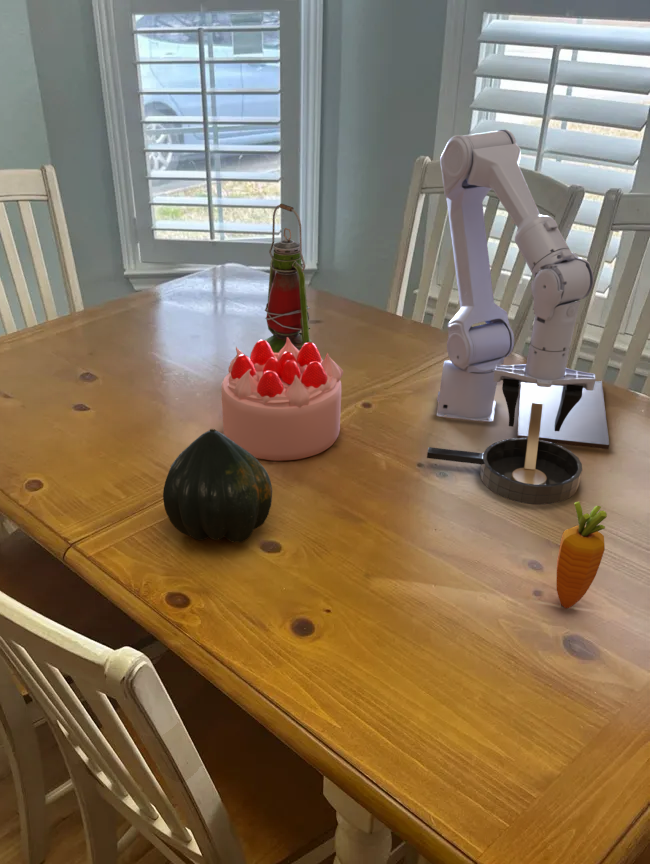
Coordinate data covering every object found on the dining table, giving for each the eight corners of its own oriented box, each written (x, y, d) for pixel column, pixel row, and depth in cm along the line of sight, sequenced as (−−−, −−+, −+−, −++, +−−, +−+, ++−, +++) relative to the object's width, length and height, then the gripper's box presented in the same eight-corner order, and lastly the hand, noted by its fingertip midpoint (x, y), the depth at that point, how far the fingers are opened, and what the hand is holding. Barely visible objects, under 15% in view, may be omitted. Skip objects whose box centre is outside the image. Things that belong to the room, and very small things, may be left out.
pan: (476, 499, 120) (479, 479, 118) (482, 452, 131) (485, 433, 129) (578, 512, 117) (583, 492, 115) (576, 463, 128) (580, 443, 126)
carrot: (538, 596, 102) (562, 495, 94) (576, 593, 103) (604, 492, 94) (553, 622, 98) (580, 520, 90) (593, 619, 99) (624, 517, 90)
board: (516, 441, 134) (517, 435, 133) (520, 380, 152) (521, 374, 152) (607, 451, 130) (609, 445, 130) (600, 387, 149) (601, 381, 148)
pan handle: (426, 458, 126) (427, 452, 125) (428, 452, 127) (428, 446, 127) (482, 464, 124) (483, 459, 123) (483, 458, 125) (484, 453, 125)
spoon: (545, 491, 121) (554, 449, 117) (510, 487, 122) (518, 445, 118) (545, 443, 132) (554, 403, 128) (513, 439, 134) (520, 400, 130)
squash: (222, 547, 104) (258, 434, 104) (130, 518, 111) (164, 413, 111) (268, 562, 116) (300, 462, 117) (183, 535, 123) (213, 441, 124)
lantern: (330, 370, 158) (335, 208, 141) (285, 384, 154) (284, 218, 136) (289, 347, 168) (289, 192, 150) (245, 359, 164) (240, 202, 146)
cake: (221, 409, 146) (217, 333, 138) (332, 403, 147) (335, 327, 139) (226, 465, 130) (221, 383, 122) (350, 458, 131) (354, 376, 123)
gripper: (498, 350, 120) (484, 432, 128) (603, 359, 116) (583, 443, 124) (500, 332, 125) (487, 412, 133) (601, 340, 121) (582, 421, 129)
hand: (533, 425), depth 129 cm, fingers open, 6 cm apart
